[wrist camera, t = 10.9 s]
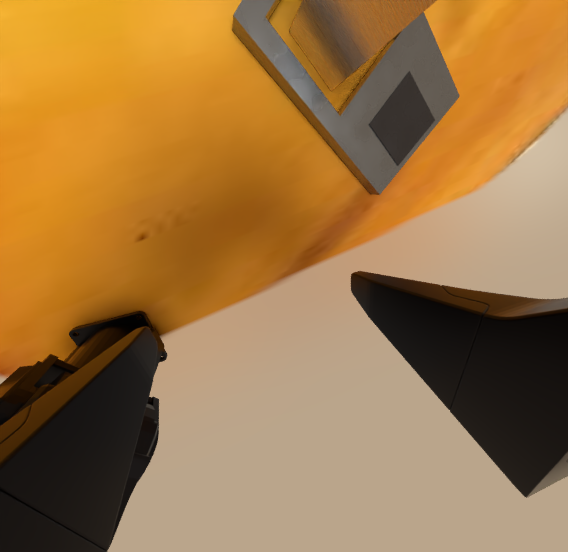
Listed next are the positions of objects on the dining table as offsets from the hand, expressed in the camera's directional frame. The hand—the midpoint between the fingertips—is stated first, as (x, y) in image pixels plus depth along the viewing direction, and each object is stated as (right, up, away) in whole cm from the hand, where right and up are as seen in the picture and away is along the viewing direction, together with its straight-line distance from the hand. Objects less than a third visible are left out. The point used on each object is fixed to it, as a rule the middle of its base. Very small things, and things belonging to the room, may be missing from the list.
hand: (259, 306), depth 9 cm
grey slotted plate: (+7, +19, +9) cm, 22 cm away
